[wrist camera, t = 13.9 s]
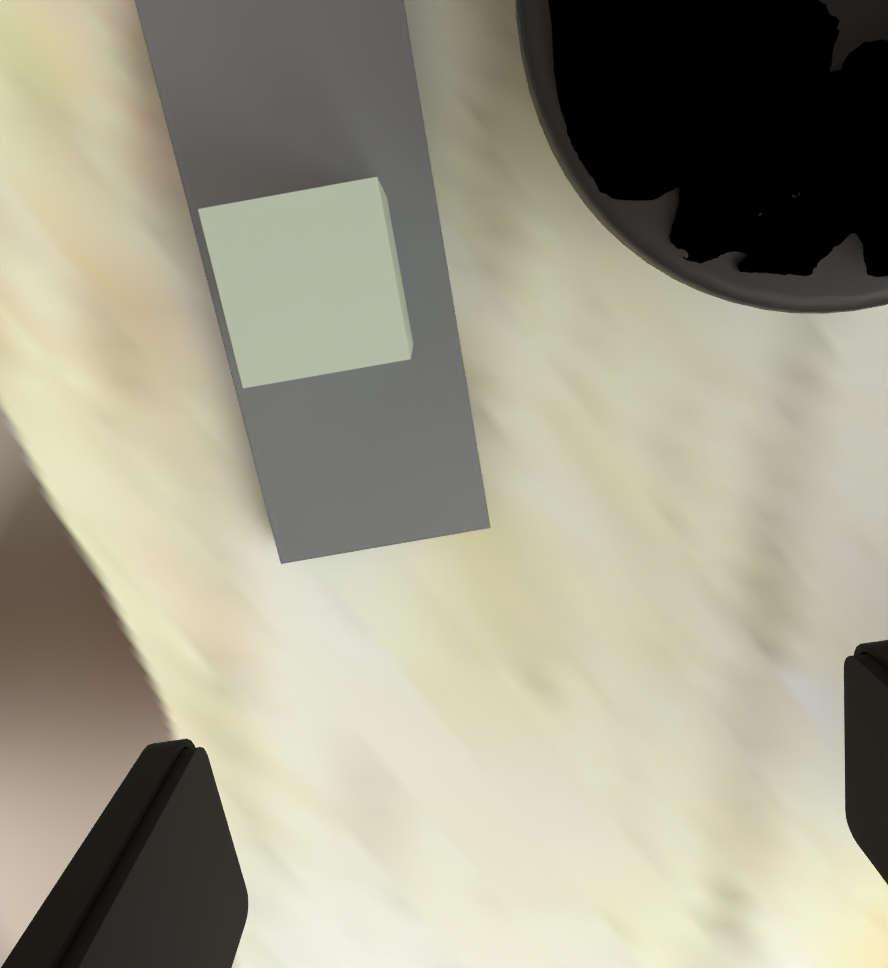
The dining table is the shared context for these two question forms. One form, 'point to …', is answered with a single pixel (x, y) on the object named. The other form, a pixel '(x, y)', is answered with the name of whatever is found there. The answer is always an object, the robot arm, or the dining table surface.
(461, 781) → the dining table surface
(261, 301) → the block
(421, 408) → the board
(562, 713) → the dining table surface
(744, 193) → the coal bowl
